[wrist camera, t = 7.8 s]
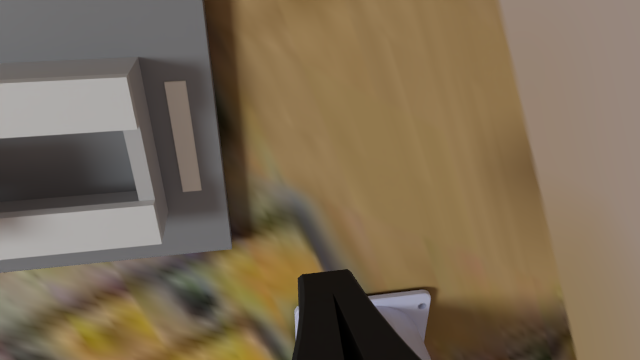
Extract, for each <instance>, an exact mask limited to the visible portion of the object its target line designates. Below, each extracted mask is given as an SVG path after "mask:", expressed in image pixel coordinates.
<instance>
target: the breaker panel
mask: <svg viewBox="0 0 640 360" xmlns="http://www.w3.org/2000/svg"><path fill="white" fill-rule="evenodd" d="M226 249H232V234H231V226H230V217H229V209H228V200H227V192H226V183H225V175H224V167H223V158H222V150H221V141H220V133H219V124H218V116H217V107H216V99H215V90H214V82H213V73H212V65H211V56H210V48H209V39H208V31H207V22H206V14H205V5H204V0H0V273H2V272H11V271H21V270H31V269H41V268H50V267H60V266H70V265H80V264H89V263H99V262H109V261H119V260H128V259H138V258H148V257H158V256H167V255H177V254H187V253H197V252H206V251H216V250H226Z"/></svg>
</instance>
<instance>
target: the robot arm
mask: <svg viewBox="0 0 640 360" xmlns="http://www.w3.org/2000/svg"><path fill="white" fill-rule="evenodd" d="M298 301H299V306H297V307H296V309H295V338H296V342H295V347H294V352H293V357H292V360H431V358H430V356H429V353H428V351H427V349H426V347H425V344H424V339H425V332H426V326H427V320H428V314H429V308H430V302H431V296H430V294H429V292H428V291H427V290H415V291H407V292H398V293H390V294H382V295H374V296H367V295H366V293H365V292H364V291H363V289H362V288H361V286H360V285H359V283H358V282H357V280H356V279H355V277H354V276H353V274H352V273H351V272H350V271H349V270H348V269H345V270H337V271H328V272H319V273H311V274H302V275H301V276H300V277H299V278H298ZM421 303H422V304H421Z"/></svg>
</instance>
